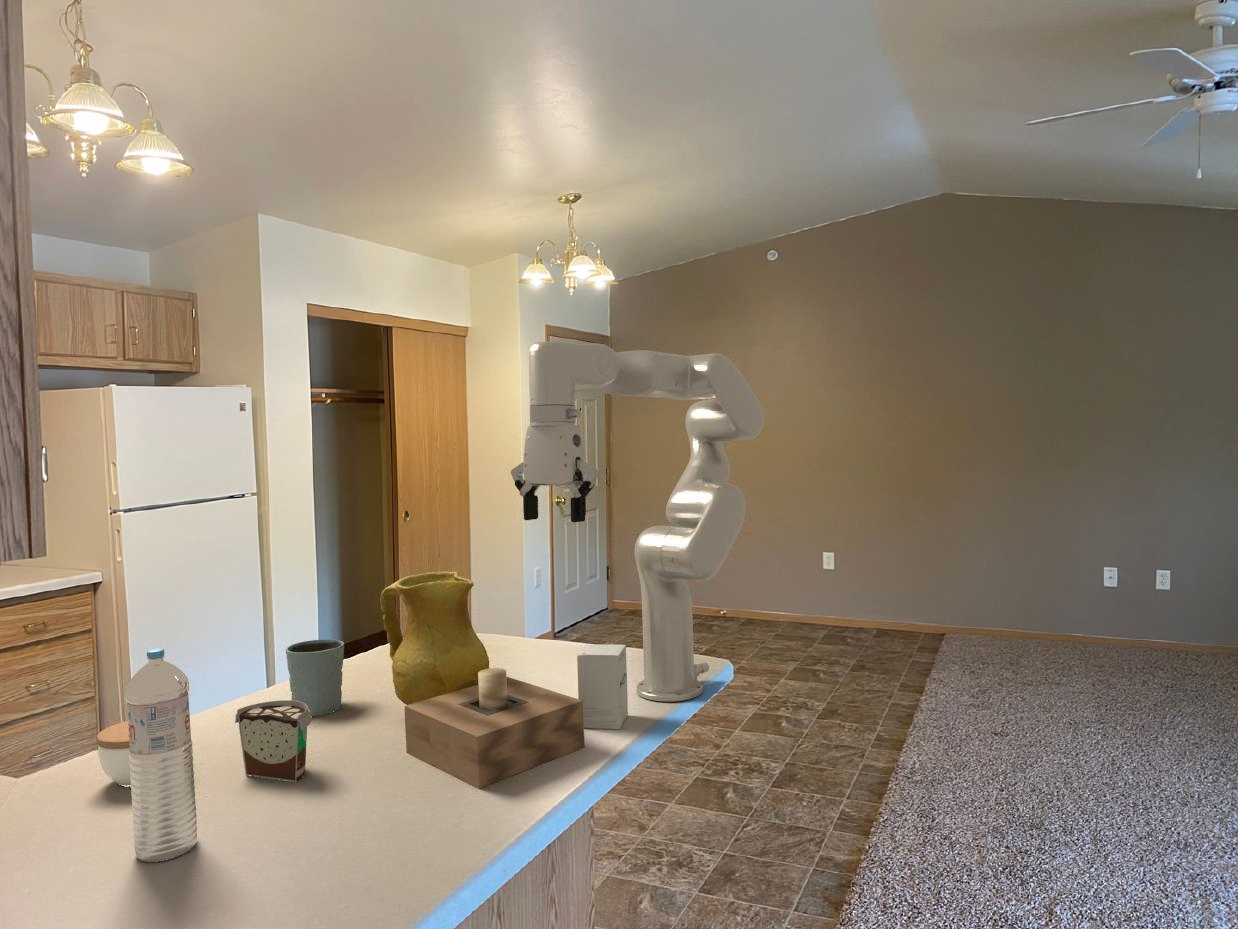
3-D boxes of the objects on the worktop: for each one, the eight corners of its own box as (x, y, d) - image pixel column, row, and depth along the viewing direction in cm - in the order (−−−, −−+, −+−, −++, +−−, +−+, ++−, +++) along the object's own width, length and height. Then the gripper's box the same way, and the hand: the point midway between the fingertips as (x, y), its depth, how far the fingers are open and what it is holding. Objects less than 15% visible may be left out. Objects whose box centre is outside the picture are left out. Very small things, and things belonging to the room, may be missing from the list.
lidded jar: (99, 801, 116) (95, 736, 116) (99, 775, 125) (96, 715, 125) (184, 782, 122) (181, 719, 121) (179, 759, 131) (175, 701, 131)
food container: (332, 767, 126) (329, 702, 125) (304, 783, 120) (301, 716, 119) (267, 759, 130) (264, 696, 129) (237, 774, 124) (234, 709, 123)
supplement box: (621, 730, 137) (618, 655, 136) (578, 728, 138) (575, 654, 138) (629, 715, 144) (627, 643, 143) (588, 713, 145) (585, 643, 145)
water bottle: (151, 838, 105) (140, 644, 104) (207, 834, 105) (196, 641, 104) (123, 866, 98) (111, 659, 97) (183, 862, 98) (171, 656, 97)
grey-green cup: (276, 715, 150) (273, 650, 150) (316, 697, 160) (313, 636, 159) (320, 720, 146) (317, 654, 146) (358, 702, 156) (355, 640, 155)
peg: (497, 709, 133) (495, 666, 133) (513, 715, 130) (511, 671, 129) (474, 716, 130) (472, 672, 130) (490, 722, 127) (488, 678, 126)
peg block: (508, 718, 144) (506, 676, 144) (584, 747, 130) (582, 700, 130) (406, 752, 130) (404, 705, 130) (479, 789, 116) (477, 736, 116)
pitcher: (423, 739, 136) (416, 589, 135) (374, 712, 150) (368, 576, 149) (510, 713, 147) (504, 574, 146) (457, 690, 161) (451, 564, 160)
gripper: (608, 416, 134) (610, 520, 135) (525, 419, 143) (527, 517, 144) (582, 415, 128) (584, 524, 128) (497, 418, 137) (499, 520, 137)
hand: (554, 520), depth 136 cm, fingers open, 9 cm apart
